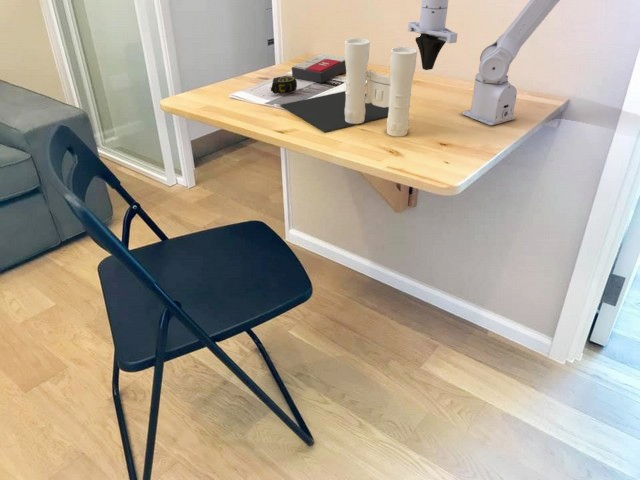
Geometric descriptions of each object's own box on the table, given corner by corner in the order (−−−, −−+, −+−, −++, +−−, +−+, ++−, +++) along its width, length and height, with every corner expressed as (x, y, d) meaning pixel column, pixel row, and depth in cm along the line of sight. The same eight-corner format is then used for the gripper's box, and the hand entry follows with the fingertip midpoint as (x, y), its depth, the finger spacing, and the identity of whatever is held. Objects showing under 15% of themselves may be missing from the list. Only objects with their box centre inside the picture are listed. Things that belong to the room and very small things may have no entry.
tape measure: (273, 88, 147) (272, 75, 145) (297, 88, 147) (297, 74, 145) (271, 96, 142) (270, 82, 139) (296, 96, 141) (295, 82, 139)
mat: (404, 113, 129) (405, 111, 129) (325, 132, 119) (324, 131, 119) (354, 90, 145) (354, 89, 144) (280, 105, 135) (280, 104, 135)
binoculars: (413, 131, 118) (422, 49, 108) (401, 139, 115) (408, 55, 105) (352, 114, 127) (354, 36, 117) (338, 120, 124) (339, 41, 114)
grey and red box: (290, 65, 154) (320, 51, 163) (291, 79, 156) (321, 65, 166) (321, 70, 148) (350, 56, 158) (321, 85, 151) (350, 70, 160)
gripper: (399, 3, 120) (395, 64, 127) (442, 13, 109) (435, 79, 117) (423, 0, 123) (417, 60, 130) (467, 10, 112) (458, 74, 120)
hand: (427, 69), depth 124 cm, fingers closed
